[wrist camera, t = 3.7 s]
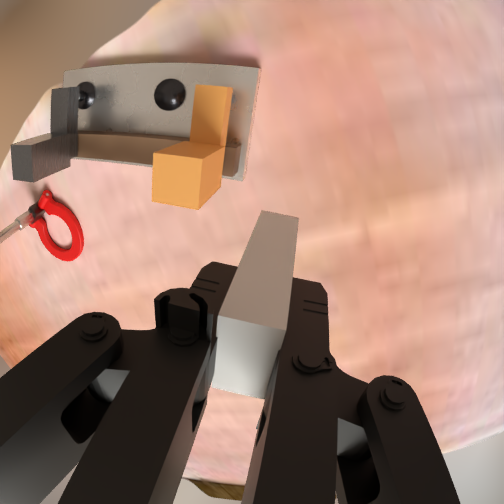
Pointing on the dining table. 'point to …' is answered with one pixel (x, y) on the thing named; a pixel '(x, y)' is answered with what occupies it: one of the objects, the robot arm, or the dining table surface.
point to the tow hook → (35, 221)
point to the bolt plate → (158, 110)
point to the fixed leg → (50, 140)
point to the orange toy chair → (195, 153)
